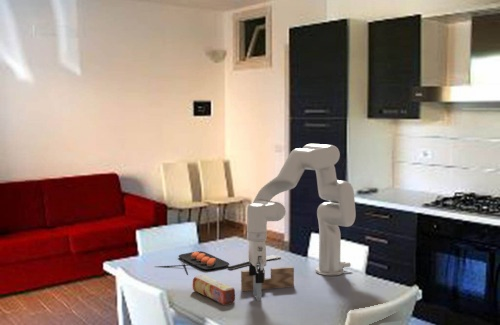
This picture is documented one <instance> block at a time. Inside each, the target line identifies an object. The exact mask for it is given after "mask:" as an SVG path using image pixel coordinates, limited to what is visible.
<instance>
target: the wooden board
mask: <svg viewBox="0 0 500 325" xmlns="http://www.w3.org/2000/svg"><path fill="white" fill-rule="evenodd" d="M240 283H241V284H240V285H241V286H240V290H241V291H242V292H246V291H253V276H250V275H249V269H247V270H240ZM294 284H295V267H294V266H283V267H271V268H270V277H266V270H265V269H264V283H261V290H268V289H269V290H270V289H279V288H280V289H282V288H291V287H295V285H294Z"/></svg>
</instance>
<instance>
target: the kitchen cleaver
mask: <svg viewBox="0 0 500 325" xmlns="http://www.w3.org/2000/svg"><path fill="white" fill-rule="evenodd" d="M269 255H270V256H268V255H266V261H269V260H270V261H271V260H273V259H274V260H275V259H280V258H282V256H281V255H273V254H269ZM249 262H250V261H249V260H246V261H244V262H242V263H237V264H234V265H228V266H227V270H229V271H232V270H237V269H241V268H244V267H247V266H248V267H249V266H250V265H249Z"/></svg>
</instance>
